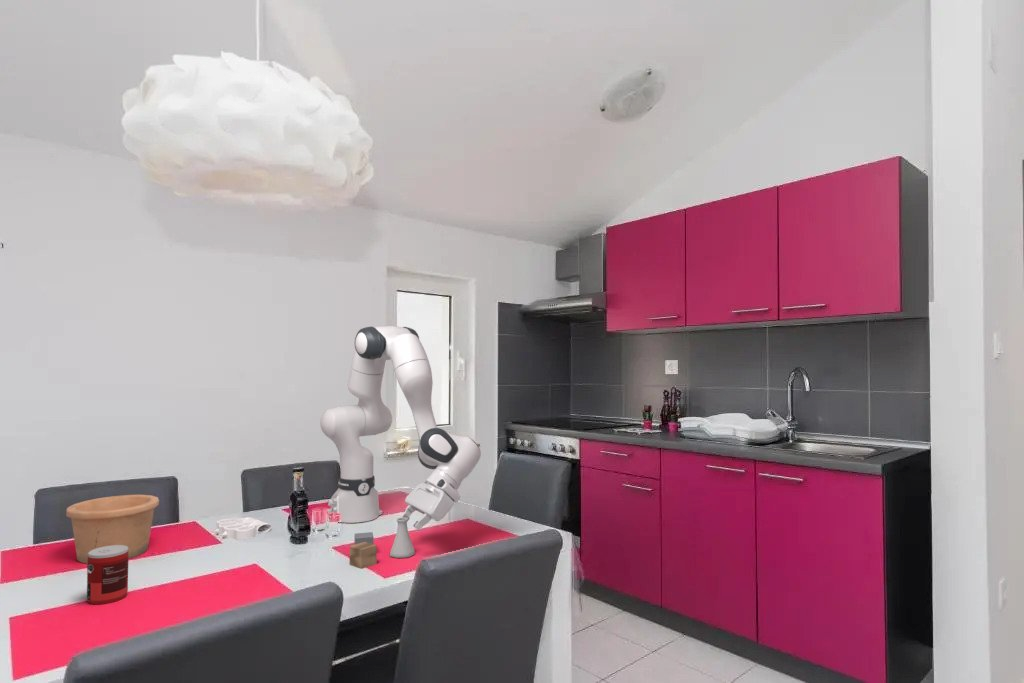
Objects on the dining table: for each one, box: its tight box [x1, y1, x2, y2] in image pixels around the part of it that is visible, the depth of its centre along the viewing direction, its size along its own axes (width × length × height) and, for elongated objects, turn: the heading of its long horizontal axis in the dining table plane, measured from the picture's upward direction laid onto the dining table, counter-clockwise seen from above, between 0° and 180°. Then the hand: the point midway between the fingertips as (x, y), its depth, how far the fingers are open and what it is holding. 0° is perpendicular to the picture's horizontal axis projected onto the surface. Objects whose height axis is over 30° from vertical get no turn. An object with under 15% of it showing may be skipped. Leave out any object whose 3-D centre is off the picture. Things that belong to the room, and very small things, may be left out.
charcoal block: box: [353, 531, 375, 545], centre depth 169 cm, size 5×5×5 cm
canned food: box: [86, 545, 129, 605], centre depth 137 cm, size 8×8×11 cm
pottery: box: [65, 494, 160, 564], centre depth 168 cm, size 22×22×14 cm
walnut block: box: [349, 542, 378, 570], centre depth 159 cm, size 5×5×5 cm
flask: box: [389, 516, 416, 559], centre depth 167 cm, size 7×7×10 cm
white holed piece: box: [212, 516, 272, 541], centre depth 189 cm, size 3×18×15 cm
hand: (409, 524), depth 168 cm, fingers open, 8 cm apart
